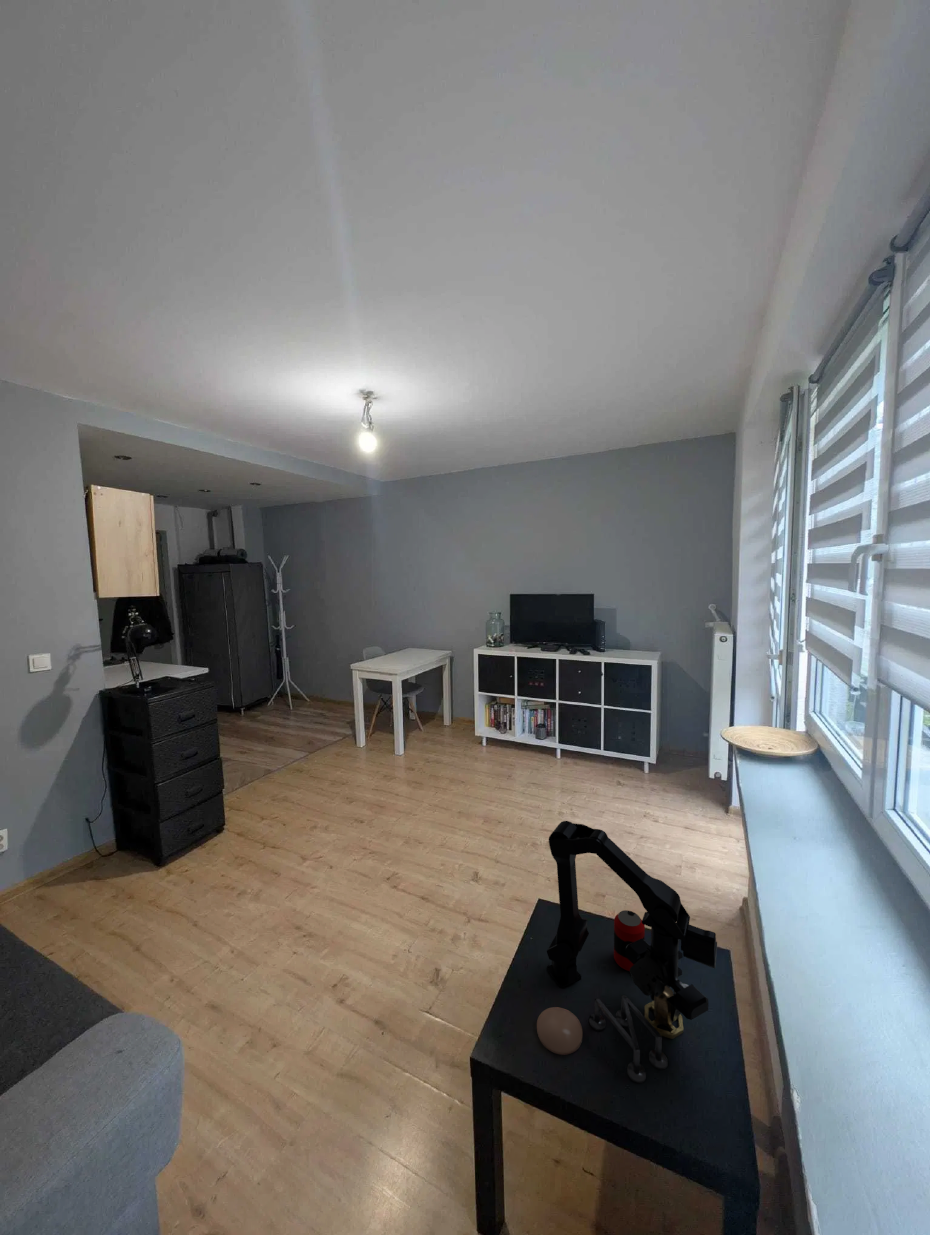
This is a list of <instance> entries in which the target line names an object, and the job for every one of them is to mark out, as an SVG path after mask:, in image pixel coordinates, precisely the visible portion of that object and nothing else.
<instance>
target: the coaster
mask: <svg viewBox="0 0 930 1235" xmlns="http://www.w3.org/2000/svg"><path fill="white" fill-rule="evenodd" d="M536 1031H537V1032H536V1033H537V1036H538V1039H539V1041H540V1043H541V1044H542V1045H543V1047H544V1048H545V1049H546V1050H548V1051H550V1052H551V1053H554V1054H556V1055H562V1056H566V1055H567V1056H568V1055H570V1054H571V1055H572V1054H573V1053H575V1052H577V1050H578V1049H579V1048H580V1047H581V1045H582V1042H583V1027H582V1024H581V1022H580V1020H579V1019H578V1016H576V1015H575V1014H574V1013H572V1011H570V1010H568V1009H565V1008H563V1007H558V1006H554V1007H553V1006H552V1007H549V1008H546V1009H544V1010H543V1011H541V1013H540V1014H539V1016H538V1017H537V1021H536Z"/></svg>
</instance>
